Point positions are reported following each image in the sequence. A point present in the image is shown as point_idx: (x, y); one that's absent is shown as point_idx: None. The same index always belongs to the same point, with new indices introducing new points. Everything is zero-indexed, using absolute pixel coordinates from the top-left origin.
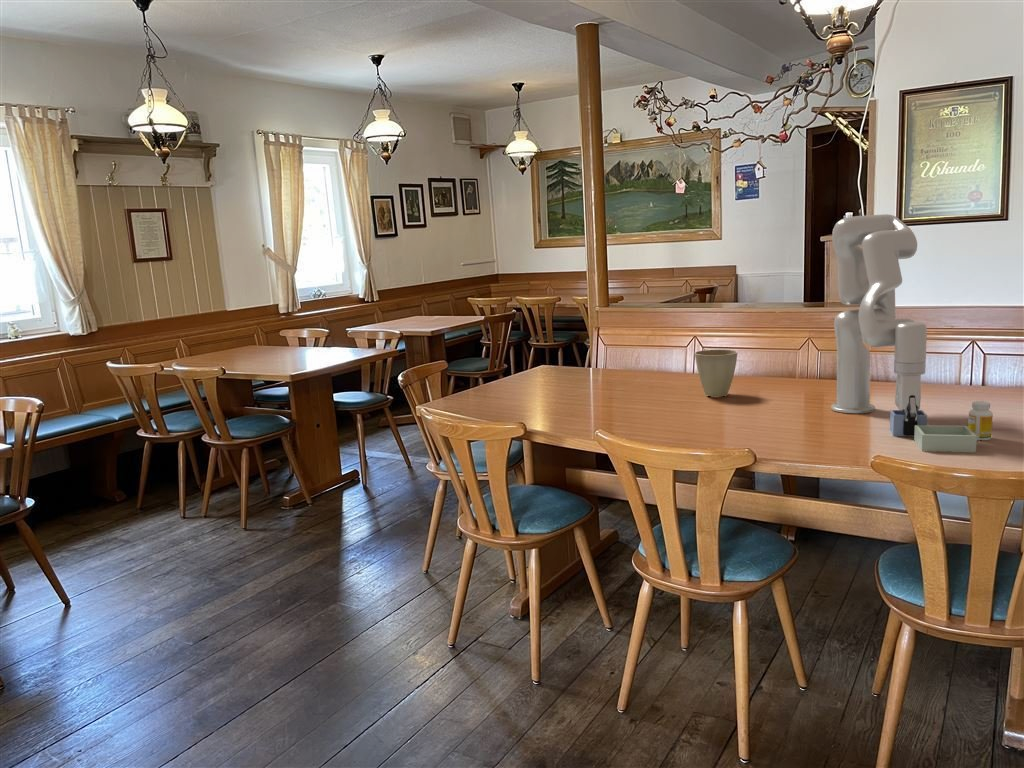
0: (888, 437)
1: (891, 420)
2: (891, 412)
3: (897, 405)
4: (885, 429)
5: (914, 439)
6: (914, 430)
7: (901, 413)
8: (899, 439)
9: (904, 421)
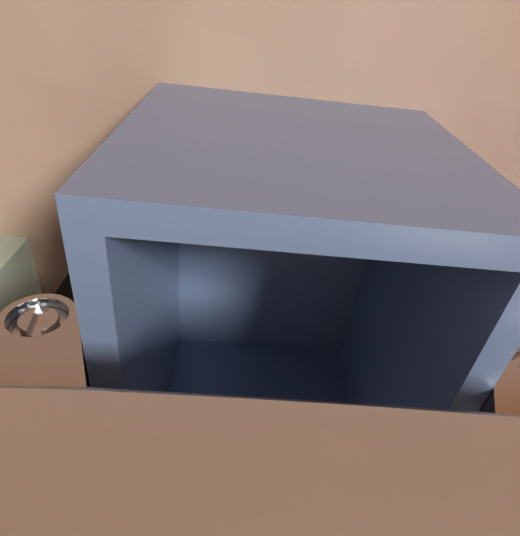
0: (100, 8)
1: (348, 153)
2: (406, 217)
3: (256, 448)
4: (493, 76)
5: (9, 243)
6: None
7: (438, 350)
8: (31, 117)
9: None
